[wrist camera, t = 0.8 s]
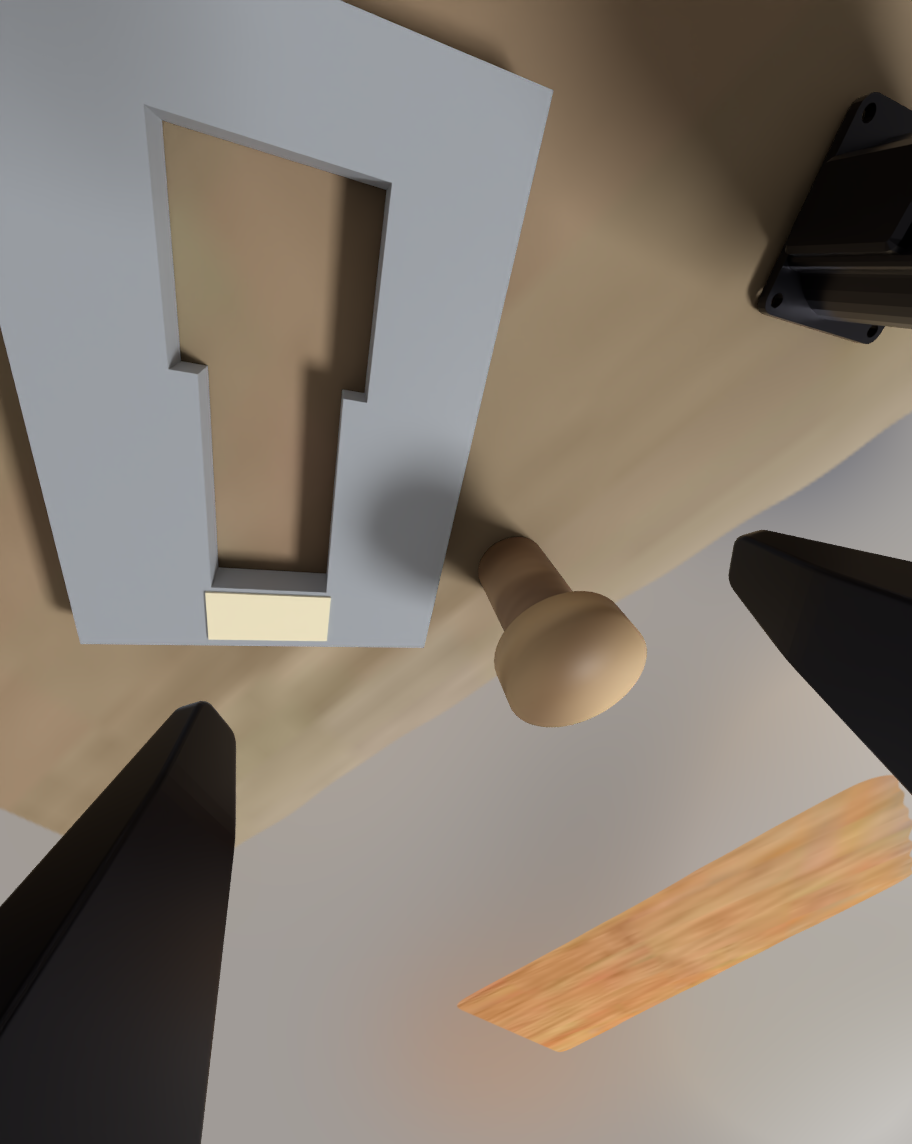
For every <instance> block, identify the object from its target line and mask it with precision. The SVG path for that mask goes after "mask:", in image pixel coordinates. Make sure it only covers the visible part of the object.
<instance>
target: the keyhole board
mask: <svg viewBox="0 0 912 1144" xmlns="http://www.w3.org/2000/svg"><path fill="white" fill-rule="evenodd" d="M552 94H553V90H551V89H549V88H547V87H544V86H542V85H540V84H537V83H535V82H532V81H530V80H528V79H525V78H523V77H521V76H518V75H516V74H514V73H511V72H509V71H506V70H504V69H502V68H499V67H497V66H495V65H492V64H490V63H487V62H485V61H483V60H480V59H478V58H476V57H473V56H471V55H468V54H466V53H464V52H461V51H459V50H457V49H454V48H452V47H450V46H447V45H445V44H442V43H440V42H438V41H435V40H433V39H431V38H428V37H426V36H423V35H421V34H419V33H416V32H414V31H412V30H409V29H407V28H405V27H402V26H400V25H397V24H395V23H393V22H390V21H388V20H386V19H383V18H381V17H378V16H376V15H374V14H371V13H369V12H367V11H364V10H362V9H360V8H357V7H355V6H352V5H350V4H348V3H345V2H343V1H341V0H0V327H1V331H2V335H3V339H4V343H5V346H6V350H7V354H8V358H9V362H10V366H11V370H12V374H13V378H14V382H15V386H16V390H17V394H18V398H19V402H20V406H21V410H22V414H23V418H24V422H25V426H26V430H27V434H28V438H29V442H30V446H31V450H32V454H33V458H34V461H35V465H36V469H37V473H38V477H39V481H40V485H41V489H42V493H43V497H44V501H45V505H46V509H47V513H48V517H49V521H50V525H51V529H52V533H53V537H54V541H55V545H56V549H57V553H58V557H59V561H60V565H61V569H62V572H63V576H64V580H65V584H66V588H67V592H68V596H69V600H70V604H71V608H72V612H73V616H74V620H75V624H76V628H77V632H78V636H79V640H80V644H139V645H229V646H320V647H411V648H424V645H425V641H426V636H427V632H428V628H429V624H430V619H431V615H432V611H433V606H434V602H435V598H436V593H437V589H438V585H439V581H440V576H441V572H442V568H443V563H444V559H445V555H446V550H447V546H448V542H449V537H450V533H451V529H452V525H453V520H454V516H455V512H456V507H457V503H458V499H459V494H460V490H461V486H462V482H463V477H464V473H465V469H466V464H467V460H468V456H469V451H470V447H471V443H472V438H473V434H474V430H475V426H476V421H477V417H478V413H479V408H480V404H481V400H482V395H483V391H484V387H485V383H486V378H487V374H488V370H489V365H490V361H491V357H492V352H493V348H494V344H495V340H496V335H497V331H498V327H499V322H500V318H501V314H502V309H503V305H504V301H505V296H506V292H507V288H508V284H509V279H510V275H511V271H512V266H513V262H514V258H515V253H516V249H517V245H518V241H519V236H520V232H521V228H522V223H523V219H524V215H525V210H526V206H527V202H528V198H529V193H530V189H531V185H532V180H533V176H534V172H535V167H536V163H537V159H538V154H539V150H540V146H541V142H542V137H543V133H544V129H545V124H546V120H547V116H548V111H549V107H550V103H551V99H552ZM162 120H163V121H166V122H169V123H172V124H176V125H179V126H182V127H185V128H188V129H192V130H195V131H198V132H201V133H205V134H208V135H211V136H214V137H217V138H221V139H224V140H227V141H230V142H234V143H237V144H240V145H243V146H246V147H250V148H253V149H256V150H259V151H262V152H266V153H269V154H272V155H275V156H279V157H282V158H285V159H288V160H291V161H295V162H298V163H301V164H304V165H308V166H311V167H314V168H317V169H320V170H324V171H327V172H330V173H333V174H337V175H340V176H343V177H346V178H349V179H353V180H356V181H359V182H362V183H366V184H369V185H372V186H375V187H378V188H382V189H385V190H387V191H386V200H385V209H384V218H383V228H382V237H381V246H380V255H379V264H378V273H377V283H376V292H375V301H374V310H373V319H372V329H371V338H370V347H369V356H368V365H367V374H366V384H365V393H360V392H355V391H349V390H343V389H342V398H341V410H340V422H339V433H338V445H337V457H336V468H335V480H334V492H333V503H332V515H331V527H330V538H329V550H328V562H327V573H326V574H325V573H307V572H290V571H272V570H255V569H237V568H220V567H218V549H217V530H216V511H215V492H214V473H213V454H212V435H211V416H210V397H209V378H208V366H206V365H200V364H195V363H189V362H183V361H181V356H180V343H179V330H178V318H177V305H176V293H175V280H174V267H173V255H172V242H171V229H170V217H169V204H168V192H167V179H166V166H165V154H164V141H163V129H162Z"/></svg>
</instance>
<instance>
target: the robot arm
mask: <svg viewBox="0 0 912 1144" xmlns="http://www.w3.org/2000/svg"><path fill="white" fill-rule="evenodd" d="M864 109H865V115H864V118H863V120H862V114H863V111H864ZM774 296H775V300H774V302H773V304H772V305H771V301H772V299H773V297H774ZM758 310H759V312H760V313H762V314H764V315H767V316H771V317H774V318H777V319H781V320H784V321H787V322H790V323H794V324H797V325H800V326H804V327H807V328H810V329H813V330H817V331H820V332H823V333H827V334H830V335H833V336H836V337H840V338H843V339H846V340H850V341H853V342H856V343H863V344H869V343H871V342H873V341H874V340H875V339H877V337H878V336H879V335H880V334H881V332H882V330H883V329H884V327H885V326H889V327H898V328H907V329H912V110H910V109H908V108H906V107H904V106H902V105H901V104H899V103H897V102H895V101H893V100H892V99H890V98H888V97H886V96H884V95H883V94H881V93H878V92H873V93H870V94H867V95H864V96H861V97H859V98H857V99H856V100H855V101H854V102H853V103H852V105H851V106H850V108H849V110H848V112H847V114H846V116H845V118H844V120H843V122H842V124H841V126H840V128H839V131H838V133H837V135H836V137H835V139H834V141H833V143H832V145H831V147H830V150H829V152H828V154H827V156H826V158H825V160H824V162H823V164H822V166H821V169H820V171H819V173H818V175H817V177H816V179H815V181H814V183H813V186H812V188H811V190H810V192H809V194H808V196H807V198H806V200H805V202H804V205H803V207H802V209H801V211H800V213H799V215H798V217H797V219H796V221H795V224H794V226H793V228H792V230H791V232H790V234H789V236H788V238H787V240H786V243H785V245H784V247H783V249H782V251H781V253H780V255H779V257H778V260H777V262H776V264H775V266H774V268H773V270H772V272H771V274H770V276H769V279H768V281H767V283H766V285H765V287H764V289H763V291H762V293H761V295H760V298H759V301H758ZM729 581H730V584H731V587H732V588H733V590H734V591H735V593H736V594H737V595H738V597H739V598H740V599H741V601H742V602H743V603H744V605H745V606H746V607H747V609H748V610H749V611H750V613H751V614H752V615H753V616H754V618H755V619H756V621H757V622H758V623H759V624H760V626H761V627H762V628H763V630H764V631H765V632H766V634H767V635H768V636H769V638H770V639H771V640H772V642H773V643H774V644H775V646H776V647H777V648H778V650H779V651H780V652H781V653H782V654H783V656H784V657H785V658H786V659H787V660H788V662H789V663H790V664H791V665H792V666H793V667H794V668H795V670H796V671H797V672H798V673H799V674H800V675H801V676H802V677H803V678H804V679H805V680H806V681H807V682H808V684H809V685H810V686H811V687H812V688H813V689H814V690H815V691H816V692H817V693H818V694H819V696H821V698H822V699H823V700H824V701H825V702H826V703H827V704H828V705H829V706H830V707H831V708H832V710H833V711H834V712H835V713H836V714H837V715H838V716H839V717H840V718H841V719H842V720H843V721H844V722H845V724H846V725H847V726H848V727H849V728H850V729H851V730H852V731H853V732H854V733H855V734H856V735H857V736H858V738H859V739H860V740H861V741H862V742H863V743H864V744H865V745H866V746H867V747H868V748H869V749H870V750H871V752H873V754H874V755H875V756H876V757H877V758H878V759H879V760H880V761H881V762H882V763H883V764H884V765H885V767H886V768H887V769H888V770H889V771H890V772H891V773H892V774H893V775H894V776H895V777H896V778H897V780H898V781H899V782H900V783H901V784H902V785H903V786H904V787H905V788H906V789H907V790H908V791H909V792H910V794H911V795H912V562H910V561H906V560H901V559H896V558H892V557H887V556H882V555H878V554H874V553H869V552H864V551H859V550H855V549H851V548H846V547H841V546H837V545H832V544H827V543H823V542H818V541H814V540H808V539H804V538H800V537H795V536H791V535H786V534H781V533H777V532H772V531H768V530H759V531H755V532H752V533H748V534H745V535H742V536H740V537H738V538H737V540H736V541H735V543H734V547H733V552H732V558H731V563H730V569H729ZM235 827H236V741H235V736H234V733H233V731H232V730H231V728H230V727H229V726H228V724H227V723H226V722H225V721H224V720H223V718H222V717H221V716H220V715H219V713H218V712H217V711H216V710H215V709H214V707H213V706H212V705H211V704H210V703H208V702H206V701H199V702H196V703H192V704H189V705H186V706H183V707H180V708H178V709H177V710H175V711H174V712H173V714H172V715H171V716H170V717H169V718H168V719H167V720H166V721H165V722H164V724H163V725H162V726H161V727H160V728H159V729H158V730H157V731H156V733H155V734H154V735H153V736H152V737H151V738H150V739H149V740H148V742H147V743H146V744H145V745H144V746H143V747H142V748H141V749H140V751H139V752H138V753H137V754H136V755H135V756H134V757H133V758H132V760H131V761H130V762H129V763H128V764H127V765H126V766H125V767H124V768H123V770H122V771H121V772H120V773H119V774H118V775H117V776H116V777H115V779H114V780H113V781H112V782H111V783H110V784H109V785H108V786H107V788H106V789H105V790H104V791H103V792H102V793H101V794H100V795H99V796H98V798H97V799H96V800H95V801H94V802H93V803H92V804H91V805H90V807H89V808H88V809H87V810H86V811H85V812H84V813H83V814H82V816H81V817H80V818H79V819H78V820H77V821H76V822H75V823H74V824H73V826H72V827H71V828H70V829H69V830H68V831H67V832H66V833H65V835H64V836H63V837H62V838H61V839H60V840H59V841H58V842H57V844H56V845H55V846H54V847H53V848H52V849H51V850H50V851H49V853H48V854H47V855H46V856H45V857H44V858H43V859H42V860H41V861H40V863H39V864H38V865H37V866H36V867H35V868H34V869H33V870H32V872H31V873H30V874H29V875H28V876H27V877H26V878H25V880H24V881H23V882H22V883H21V884H20V885H19V886H18V887H17V888H16V889H15V891H14V892H13V893H12V894H11V895H10V896H9V897H8V898H7V900H6V901H5V902H4V903H3V904H2V905H1V906H0V1144H201V1137H202V1129H203V1120H204V1111H205V1102H206V1093H207V1084H208V1076H209V1067H210V1058H211V1049H212V1040H213V1031H214V1022H215V1014H216V1005H217V995H218V988H219V987H218V986H219V979H220V970H221V961H222V952H223V942H224V934H225V925H226V917H227V908H228V899H229V891H230V882H231V873H232V864H233V855H234V845H235Z"/></svg>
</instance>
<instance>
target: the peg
mask: <svg viewBox="0 0 912 1144" xmlns="http://www.w3.org/2000/svg"><path fill="white" fill-rule="evenodd" d="M478 576H479V580H480V582H481V584H482V586H483V588H484V590H485V592H486V595H487V597H488V599H489V601H490V603H491V605H492V607H493V609H494V611H495V613H496V615H497V617H498V619H499V621H500V624H501V626H502V628H503V630H504V633H503V635H502V637H501V638H500V640H499V642H498V645H497V648H496V651H495V658H494V664H495V670H496V674H497V676H498V678H499V681H500V683H501V686H502V688H503V690H504V693H505V695H506V698H507V700H508V702H509V704H510V707H511V709H512V711H513V712H514V713H515V714H516V715H517V716H518V717H519V718H520V719H522V720H523V721H525V722H527V723H529V724H532V725H536V726H541V727H562V726H567V725H573V724H576V723H580V722H583V721H585V720H588V719H590V718H592V717H595V716H597V715H599V714H600V713H602V712H604V711H606V710H607V709H609V708H610V707H612V706H613V705H614V704H616V703H617V702H618V701H619V700H621V699H622V697H624V696H625V695H626V694H627V693H628V692H629V691H630V690H631V688H632V687H633V686H634V685H635V683H636V682H637V680H638V679H639V677H640V675H641V673H642V671H643V668H644V666H645V662H646V657H647V648H646V643H645V641H644V638H643V636H642V635H641V633H640V632H639V631H638V630H637V629H636V627H635V626H634V625H633V624H632V623H631V622H630V620H629V619H628V618H627V617H626V616H625V614H624V613H623V612H622V611H621V610H620V609H619V608H618V606H617V605H616V604H615V603H614V602H613V601H612V600H610V599H609V598H607V597H605V596H603V595H601V594H597V593H594V592H587V591H574V592H573V591H572V590H571V588H570V587H569V586H568V584H567V583H566V582H565V580H564V579H563V578H562V576H561V575H560V574H559V572H558V571H557V570H556V568H555V567H554V566H553V564H552V563H551V562H550V560H549V559H548V558H547V556H546V555H545V554H544V552H543V551H542V550H541V548H540V547H539V546H538V545H537V544H536V543H535V542H534V541H532V540H530V539H528V538H524V537H511V538H507V539H504V540H501V541H499V542H497V543H496V544H494V545H493V546H492V547H490V548H489V549H488V550H487V551H486V553H485V554H484V555H483V557H482V559H481V561H480V564H479V568H478Z"/></svg>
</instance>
